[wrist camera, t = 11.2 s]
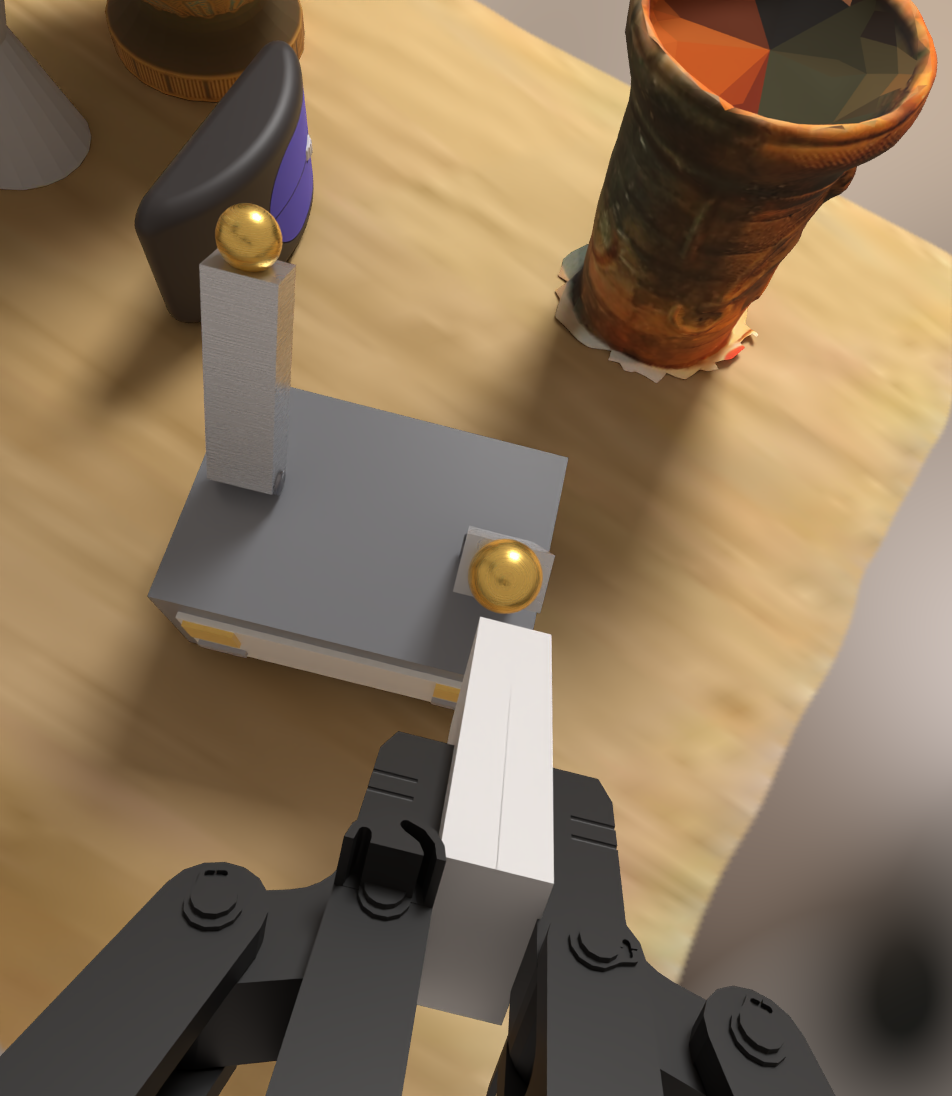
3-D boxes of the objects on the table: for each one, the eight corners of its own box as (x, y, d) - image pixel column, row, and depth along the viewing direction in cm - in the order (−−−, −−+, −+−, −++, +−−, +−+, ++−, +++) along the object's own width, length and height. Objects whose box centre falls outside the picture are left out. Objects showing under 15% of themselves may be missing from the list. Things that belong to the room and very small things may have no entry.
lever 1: (203, 491, 36) (192, 204, 27) (224, 461, 37) (219, 184, 29) (272, 508, 36) (281, 227, 27) (289, 478, 38) (302, 206, 29)
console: (185, 651, 42) (142, 607, 34) (261, 450, 46) (238, 373, 39) (495, 728, 42) (518, 701, 35) (539, 520, 47) (568, 457, 39)
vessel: (675, 438, 50) (838, 183, 31) (509, 304, 53) (570, -2, 34) (798, 314, 55) (1002, 29, 36) (641, 197, 57) (755, -121, 39)
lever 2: (455, 570, 37) (446, 605, 24) (468, 520, 37) (465, 528, 24) (521, 587, 37) (547, 630, 24) (534, 537, 37) (567, 554, 24)
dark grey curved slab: (232, 353, 49) (199, 244, 40) (166, 325, 49) (118, 210, 40) (348, 178, 55) (341, 50, 46) (288, 154, 55) (270, 22, 46)
